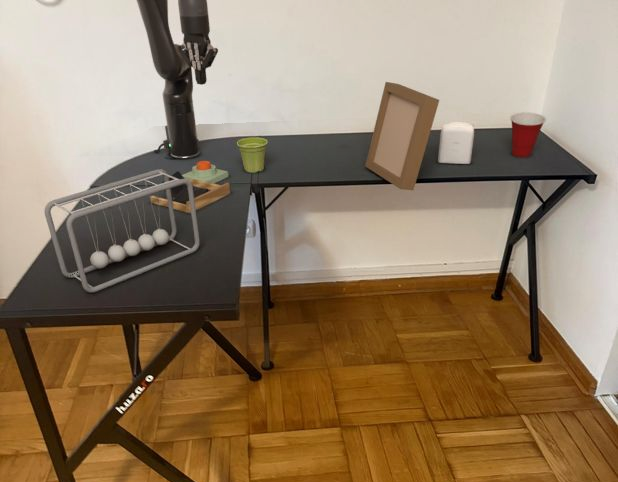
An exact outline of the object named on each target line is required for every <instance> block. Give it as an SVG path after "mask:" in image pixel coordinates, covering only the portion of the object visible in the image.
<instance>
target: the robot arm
mask: <svg viewBox="0 0 618 482" xmlns="http://www.w3.org/2000/svg"><path fill="white" fill-rule="evenodd" d="M136 3H137V7H138V10H139V13H140V16H141V20H142V23H143V25H144V28H145V32H146V36H147V40H148V45H149V50H150V55H151V58H152V63H153V66H154V69H155V72H156V73H157V74H158V76H159V77H160V78H161V79H163V80H164V88H163V90H162V102H163V108H164V114H165V122H166V125H165V126H164V129H165V135H166V139H164V140H162V143H161V144H160V145H159V146H158V148H157V150H156V149H154V150H153V151H154V153H159V152H160V151H161V148H162V147H163V148H164V149H167V150H168V155H169V156H171V158H173V159H177V160H187V159H188V160H189V159H194V158H196V157H198V156H200V147H199V144H200V141H199V138H198V133H197V124H196V123H197V122H196V116H195V115H196V114H195V107H194V101H193V92H194V82H193V81H194V80H193V70H194V75H195V76H194V77H195V82H196V84H197V85H201V86H202V85H205V84H206V83H207V79H208V78H207V69H209V68H211V67H212V65H213V63H214V61H215V59H216V56H217V54H218V53H219V49H218V48H217V47H214V46H213V45H212V41H211V39H210V32H211V28H210V27H211V26H210V18H209V17H210V15H209V7H208V6H209V5H208V0H177V5H178V6H177V7H178V14H179V21H180V31H181V34H182V35H183V38H182V39H183V43H182V44H178V43H174V42H175V41H174V40H173V36H172V34H171V30H170V25H169V23H170V22H169V0H136ZM192 69H193V70H192Z"/></svg>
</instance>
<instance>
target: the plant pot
mask: <svg viewBox="0 0 618 482" xmlns="http://www.w3.org/2000/svg"><path fill="white" fill-rule="evenodd" d="M267 144H268V140H267V139H266V138H262V137H255V136H254V137H244V138H241V139H238V140H237V141H236V145H237V147H238V150H239V152H240V157H241V161H242V164H243V170H244V171H245V172H247V173H252V174H256V173H258V172H263V171H264V169H265V159H266V158H265V156H266V148H267Z"/></svg>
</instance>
